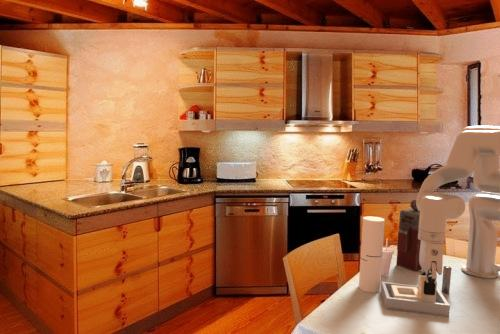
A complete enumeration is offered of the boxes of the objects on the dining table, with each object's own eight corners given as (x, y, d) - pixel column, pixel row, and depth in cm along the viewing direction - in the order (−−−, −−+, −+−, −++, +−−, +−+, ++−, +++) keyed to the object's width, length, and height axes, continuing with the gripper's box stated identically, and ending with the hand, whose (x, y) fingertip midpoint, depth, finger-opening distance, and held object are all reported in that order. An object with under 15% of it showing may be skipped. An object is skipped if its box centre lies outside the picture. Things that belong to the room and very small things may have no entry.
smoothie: (393, 277, 140) (395, 241, 139) (375, 275, 141) (378, 240, 140) (390, 271, 146) (392, 236, 145) (373, 269, 148) (375, 235, 146)
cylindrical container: (377, 294, 125) (382, 222, 123) (356, 289, 129) (360, 219, 126) (382, 286, 131) (386, 218, 129) (361, 282, 135) (366, 215, 132)
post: (448, 291, 129) (450, 266, 128) (450, 294, 127) (452, 269, 126) (440, 290, 130) (442, 265, 129) (442, 293, 127) (444, 268, 126)
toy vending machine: (392, 265, 152) (397, 199, 150) (408, 260, 159) (412, 196, 156) (412, 273, 145) (417, 203, 142) (428, 267, 152) (433, 200, 149)
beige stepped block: (437, 305, 114) (438, 283, 113) (394, 301, 117) (395, 280, 116) (431, 294, 122) (432, 273, 121) (390, 290, 125) (391, 270, 124)
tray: (437, 297, 124) (438, 287, 123) (449, 316, 111) (449, 305, 111) (380, 291, 128) (381, 281, 127) (386, 308, 115) (386, 298, 115)
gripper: (452, 244, 107) (447, 304, 109) (436, 229, 124) (432, 281, 125) (424, 242, 109) (420, 301, 111) (412, 227, 125) (409, 279, 127)
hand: (427, 290), depth 118 cm, fingers open, 4 cm apart
